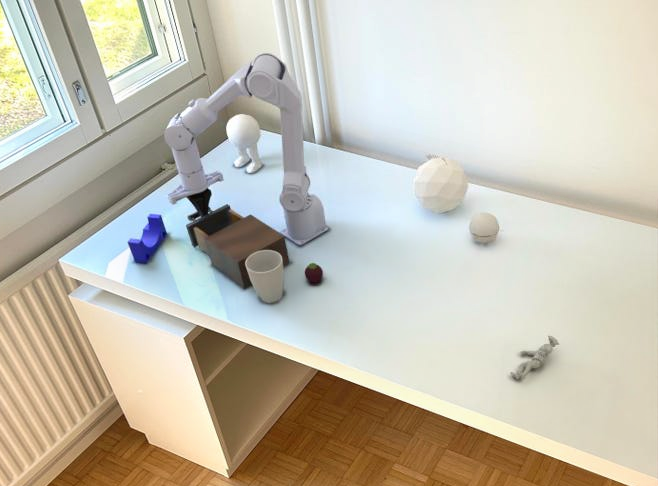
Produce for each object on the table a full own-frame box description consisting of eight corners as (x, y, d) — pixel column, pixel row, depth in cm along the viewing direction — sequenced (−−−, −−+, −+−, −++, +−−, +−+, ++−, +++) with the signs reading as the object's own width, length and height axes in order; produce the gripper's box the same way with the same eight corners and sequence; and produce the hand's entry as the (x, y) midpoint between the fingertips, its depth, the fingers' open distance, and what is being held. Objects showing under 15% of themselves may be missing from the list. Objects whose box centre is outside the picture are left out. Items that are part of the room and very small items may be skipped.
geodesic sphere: (390, 185, 189) (414, 156, 177) (426, 162, 197) (451, 132, 185) (426, 231, 190) (453, 205, 178) (460, 206, 198) (488, 180, 185)
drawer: (181, 238, 185) (175, 217, 180) (221, 217, 191) (216, 196, 186) (220, 266, 176) (214, 245, 172) (261, 243, 182) (256, 223, 177)
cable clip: (151, 232, 188) (144, 213, 184) (167, 234, 187) (160, 214, 183) (129, 261, 180) (121, 241, 176) (146, 263, 179) (138, 243, 175)
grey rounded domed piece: (463, 244, 181) (463, 219, 175) (476, 228, 185) (477, 203, 180) (500, 255, 177) (502, 230, 172) (513, 238, 182) (514, 213, 176)
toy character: (228, 166, 210) (216, 117, 199) (252, 153, 215) (242, 105, 204) (249, 177, 206) (238, 127, 195) (273, 163, 210) (263, 114, 200)
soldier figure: (501, 374, 151) (531, 329, 154) (518, 388, 152) (547, 344, 156) (521, 372, 144) (552, 325, 147) (538, 387, 145) (569, 341, 149)
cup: (295, 288, 171) (288, 253, 164) (279, 310, 165) (271, 275, 158) (263, 281, 173) (256, 247, 166) (247, 303, 167) (238, 268, 160)
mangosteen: (316, 272, 175) (313, 257, 171) (327, 280, 172) (325, 265, 169) (302, 281, 173) (299, 266, 169) (313, 288, 170) (311, 273, 167)
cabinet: (212, 265, 178) (204, 238, 172) (256, 240, 184) (250, 214, 179) (244, 289, 171) (237, 262, 165) (289, 262, 178) (284, 236, 172)
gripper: (206, 150, 179) (219, 198, 188) (154, 174, 172) (170, 222, 181) (223, 160, 175) (235, 208, 185) (170, 185, 168) (185, 233, 178)
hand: (204, 216), depth 183 cm, fingers closed
